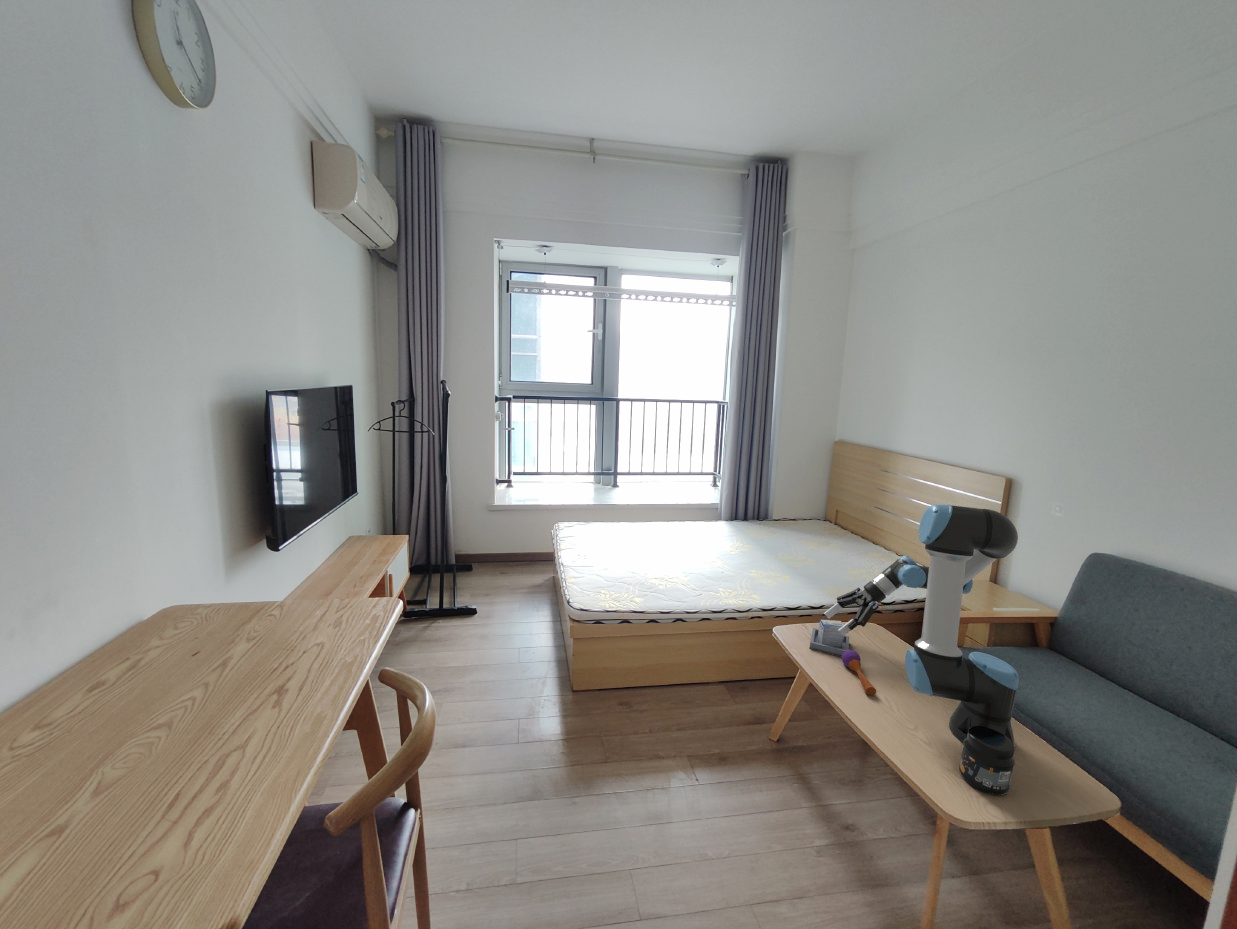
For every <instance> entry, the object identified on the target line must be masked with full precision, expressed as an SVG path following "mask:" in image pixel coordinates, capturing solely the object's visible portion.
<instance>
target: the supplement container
mask: <svg viewBox="0 0 1237 929" xmlns="http://www.w3.org/2000/svg"><path fill="white" fill-rule="evenodd" d="M962 744H963V746H962V751H961V757H960V761H959V766H958V770H959V774H960V775H961V777H962V778H963V779H964V780H965V782H967V783H968V784H969V785H971V787H973V788H975V789H976V790H978V791H980V792H982V791H983V792H982V793H984V794H985V793H986V794H988V795H994V796H1003V795H1005V794H1008V792H1009V791H1010V786H1011V780H1012V775H1013V771H1014V767H1015V765H1016V758H1015V751H1016V745H1015V744H1013V742H1012V741H1011V740H1010V739H1009V738H1008V737H1006V736H1005V735H1003V734H1002V733H1000V732H998V731H996V730H993V729H990V728H987V727H983V726H973V727H970V728H969V730H968V734H967V737H966V738H965V739H964V742H962Z"/></svg>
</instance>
